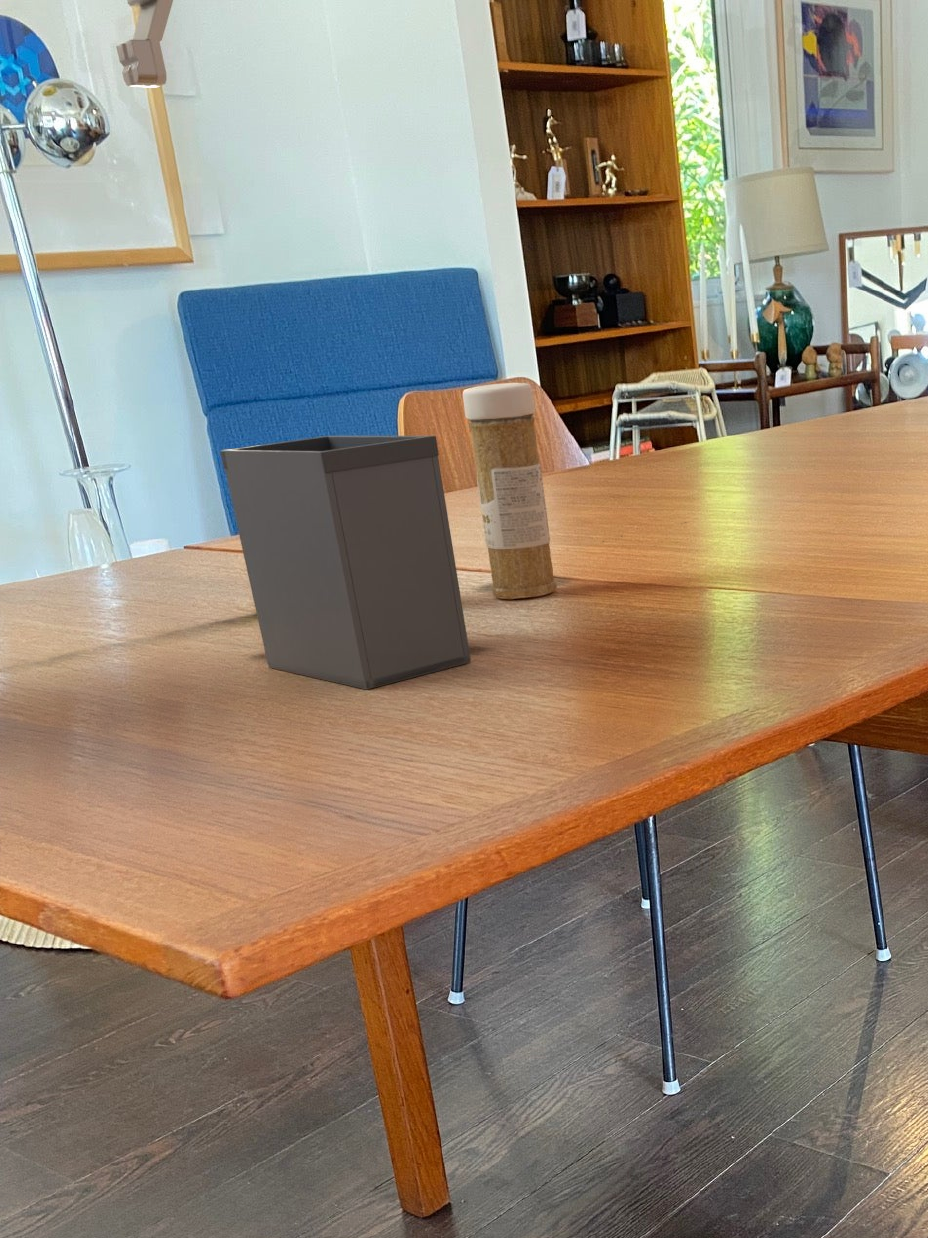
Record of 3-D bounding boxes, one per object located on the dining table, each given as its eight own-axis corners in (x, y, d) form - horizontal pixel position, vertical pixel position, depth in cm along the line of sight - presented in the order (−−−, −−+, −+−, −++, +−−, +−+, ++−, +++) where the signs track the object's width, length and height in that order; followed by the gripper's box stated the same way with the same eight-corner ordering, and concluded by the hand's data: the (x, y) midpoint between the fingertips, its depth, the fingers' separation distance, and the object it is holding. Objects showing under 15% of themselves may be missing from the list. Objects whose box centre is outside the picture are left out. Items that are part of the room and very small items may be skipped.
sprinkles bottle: (492, 592, 101) (461, 386, 95) (556, 585, 102) (530, 380, 96) (493, 603, 97) (461, 389, 91) (560, 596, 98) (532, 383, 92)
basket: (267, 667, 84) (219, 450, 79) (368, 643, 88) (328, 435, 83) (367, 690, 77) (321, 452, 71) (472, 662, 81) (436, 435, 76)
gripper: (-298, -367, 54) (-170, 63, 60) (209, -271, 66) (275, 78, 72) (-331, -308, 58) (-208, 88, 64) (152, -228, 71) (218, 98, 77)
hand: (51, 83), depth 68 cm, fingers open, 8 cm apart
